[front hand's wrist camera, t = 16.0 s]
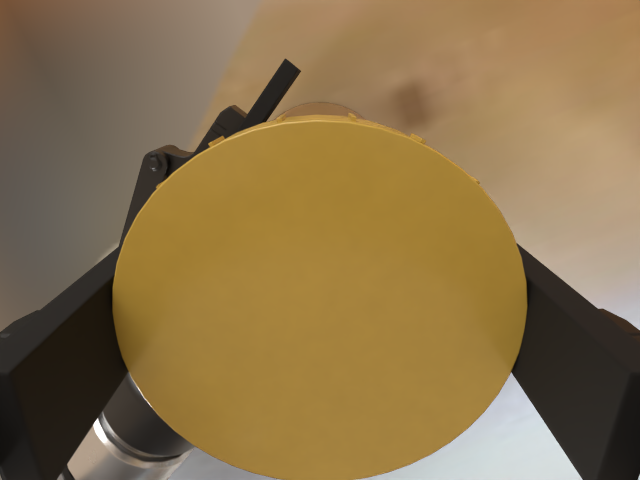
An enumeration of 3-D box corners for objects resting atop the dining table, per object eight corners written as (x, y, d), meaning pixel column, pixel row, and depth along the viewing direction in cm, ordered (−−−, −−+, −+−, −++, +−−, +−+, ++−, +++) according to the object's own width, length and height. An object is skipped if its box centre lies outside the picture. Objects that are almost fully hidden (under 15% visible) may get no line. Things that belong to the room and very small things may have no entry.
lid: (528, 110, 10) (566, 115, 8) (478, 436, 14) (498, 482, 12) (106, 116, 10) (67, 122, 8) (166, 440, 14) (146, 485, 12)
